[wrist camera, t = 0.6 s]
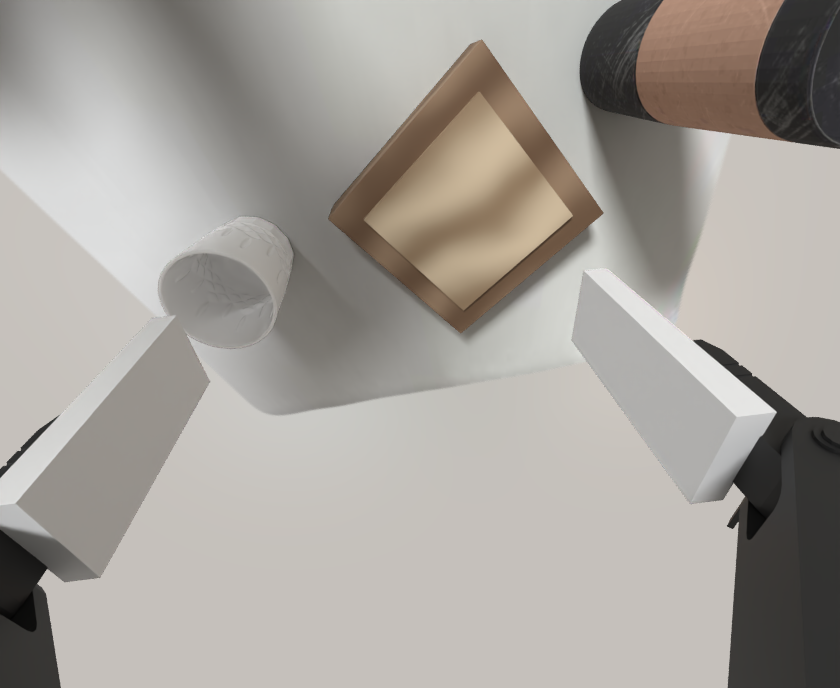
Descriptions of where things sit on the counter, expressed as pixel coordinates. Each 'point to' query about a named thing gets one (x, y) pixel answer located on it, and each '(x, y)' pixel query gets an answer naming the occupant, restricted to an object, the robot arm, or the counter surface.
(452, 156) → the walnut riser
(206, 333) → the white cup
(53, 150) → the counter surface
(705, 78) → the travel mug
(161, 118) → the counter surface
